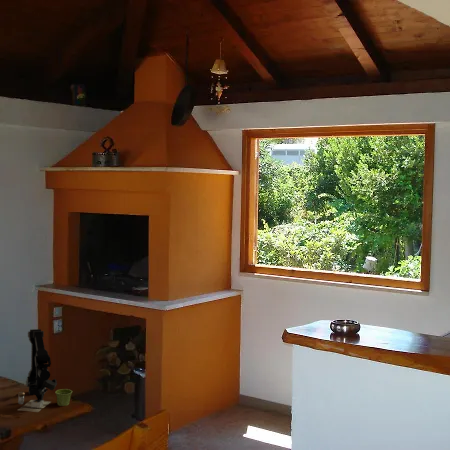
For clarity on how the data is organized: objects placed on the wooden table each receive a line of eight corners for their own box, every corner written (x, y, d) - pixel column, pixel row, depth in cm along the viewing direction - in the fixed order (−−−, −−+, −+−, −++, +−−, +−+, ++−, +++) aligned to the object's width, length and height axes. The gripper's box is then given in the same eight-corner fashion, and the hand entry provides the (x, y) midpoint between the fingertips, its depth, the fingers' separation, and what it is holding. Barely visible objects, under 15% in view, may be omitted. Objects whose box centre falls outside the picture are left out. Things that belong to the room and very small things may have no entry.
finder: (34, 404, 348) (35, 398, 348) (43, 405, 347) (43, 399, 347) (31, 407, 343) (31, 401, 343) (39, 408, 342) (39, 402, 342)
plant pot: (75, 405, 354) (75, 390, 354) (64, 410, 346) (65, 395, 345) (62, 402, 358) (62, 388, 358) (51, 407, 350) (51, 392, 349)
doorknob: (19, 404, 352) (19, 391, 351) (25, 405, 351) (25, 391, 351) (16, 406, 348) (17, 393, 348) (22, 407, 348) (23, 393, 347)
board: (31, 402, 356) (31, 399, 356) (51, 404, 355) (51, 401, 355) (17, 412, 338) (17, 409, 338) (38, 414, 337) (38, 411, 337)
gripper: (48, 381, 338) (47, 409, 339) (61, 372, 357) (60, 399, 357) (29, 379, 340) (28, 407, 340) (42, 370, 358) (41, 397, 359)
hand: (40, 402), depth 349 cm, fingers closed
